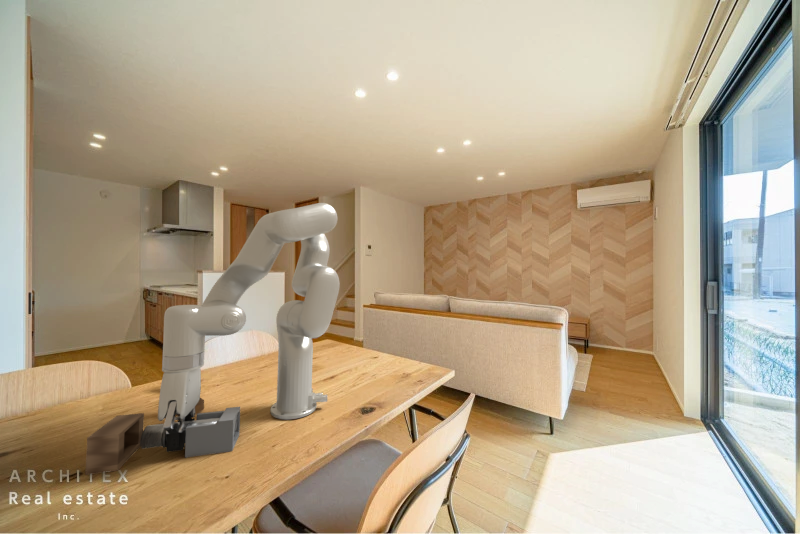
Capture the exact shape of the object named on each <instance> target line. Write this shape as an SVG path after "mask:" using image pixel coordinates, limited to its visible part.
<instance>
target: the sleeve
mask: <svg viewBox="0 0 800 534" xmlns="http://www.w3.org/2000/svg"><path fill="white" fill-rule="evenodd" d="M236 416H237V430H236V434H235V437H234V420H235V418H236ZM195 417H196V418H195V420H203V419H212V418H220V419H219V421H218V423H211V424H202V425H193V426H187V427H186V443H185V448H184V451H185V452H184V458H193V457H200V456H207V455H213V454H220V453H228V452H233V450H234V448H235V446H236V445H237V441H238V439H239V437H240V430H241V429H240V427H241V424H240V423H241V406H234V407H233V406H232V407H226V408H225V409H224V410H217V411H208V412H200V413H197V414H195Z"/></svg>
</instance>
